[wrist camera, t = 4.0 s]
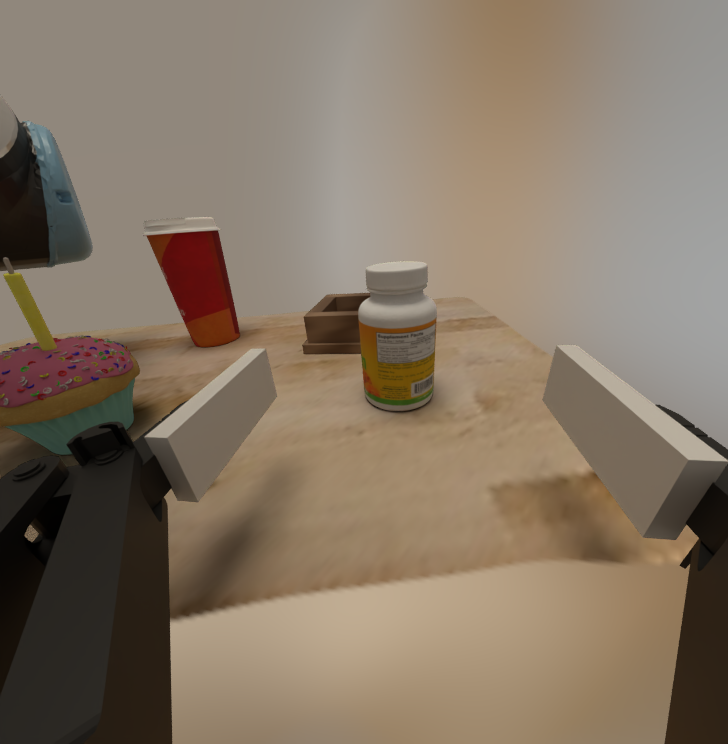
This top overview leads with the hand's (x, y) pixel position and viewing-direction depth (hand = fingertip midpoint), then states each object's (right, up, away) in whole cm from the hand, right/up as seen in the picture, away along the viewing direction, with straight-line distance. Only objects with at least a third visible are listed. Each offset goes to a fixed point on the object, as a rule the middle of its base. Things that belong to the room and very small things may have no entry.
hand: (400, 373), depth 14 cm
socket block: (-2, +5, +22) cm, 23 cm away
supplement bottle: (+1, -2, +10) cm, 10 cm away
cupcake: (-21, -5, +8) cm, 23 cm away
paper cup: (-21, +4, +25) cm, 33 cm away
